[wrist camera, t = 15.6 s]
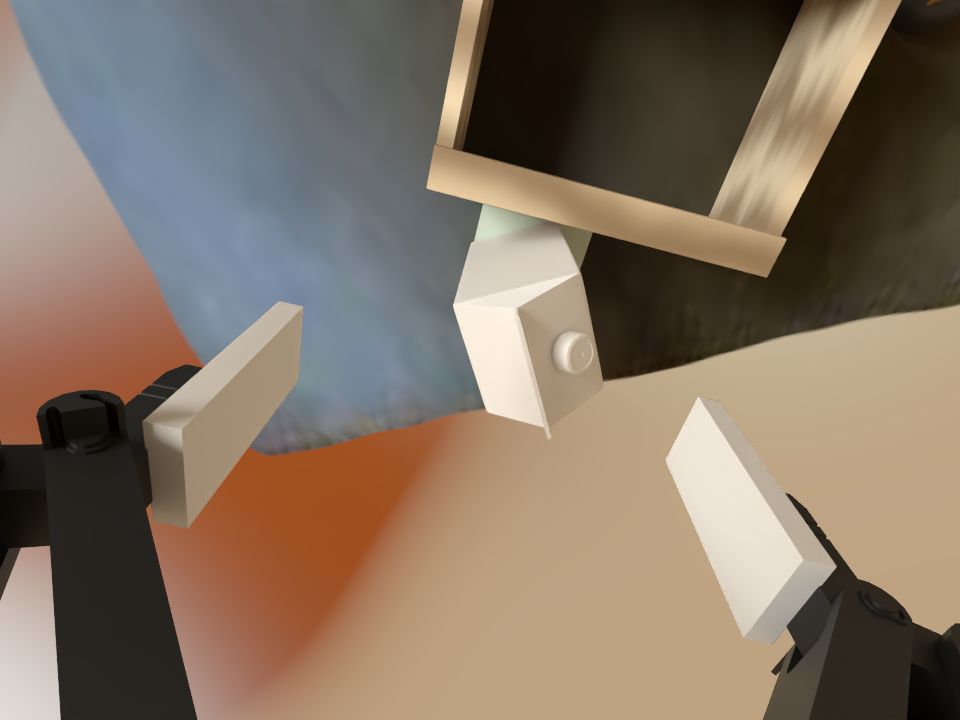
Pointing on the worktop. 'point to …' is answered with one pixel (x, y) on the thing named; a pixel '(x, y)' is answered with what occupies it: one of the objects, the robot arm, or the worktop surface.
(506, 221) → the place mat
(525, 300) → the milk carton
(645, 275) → the worktop surface
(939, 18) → the wooden tabletop sculpture
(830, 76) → the crate
